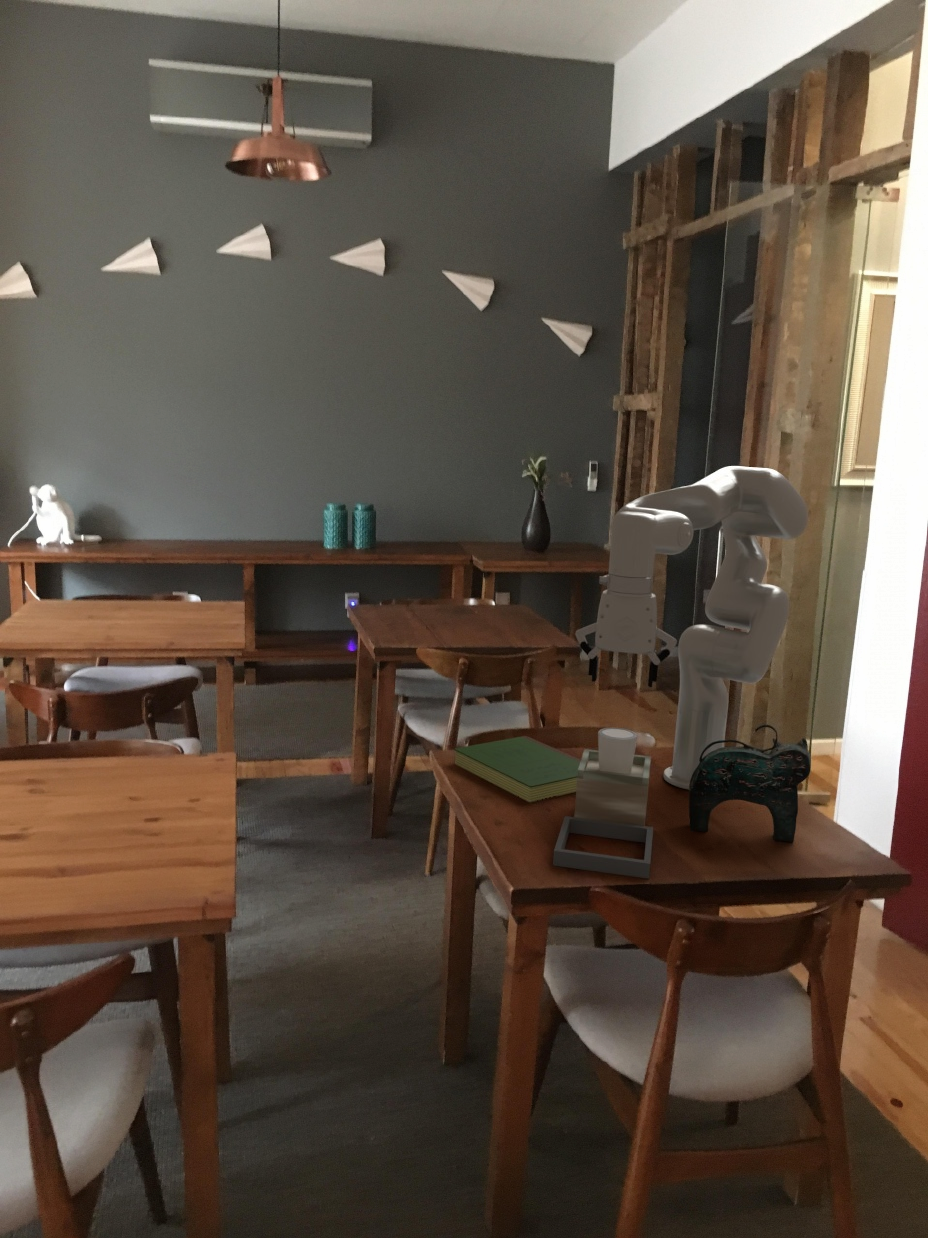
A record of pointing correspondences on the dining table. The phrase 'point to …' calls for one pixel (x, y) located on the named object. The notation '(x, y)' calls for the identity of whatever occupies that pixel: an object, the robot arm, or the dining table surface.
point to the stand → (612, 791)
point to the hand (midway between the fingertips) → (622, 682)
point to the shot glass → (616, 749)
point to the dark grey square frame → (598, 860)
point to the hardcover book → (522, 767)
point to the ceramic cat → (751, 782)
